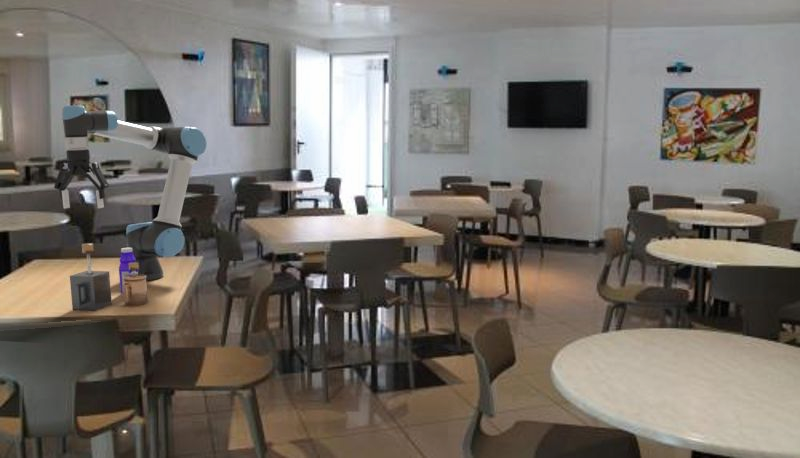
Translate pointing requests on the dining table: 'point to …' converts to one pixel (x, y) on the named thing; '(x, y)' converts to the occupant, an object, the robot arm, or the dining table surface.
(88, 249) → the plunger tall
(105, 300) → the cube with square hole
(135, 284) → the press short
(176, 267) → the dining table surface
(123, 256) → the bottle
